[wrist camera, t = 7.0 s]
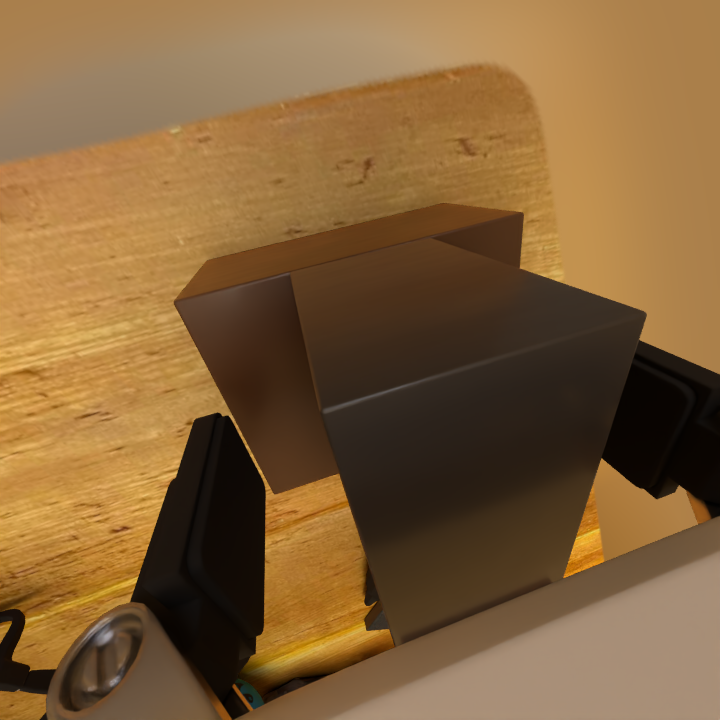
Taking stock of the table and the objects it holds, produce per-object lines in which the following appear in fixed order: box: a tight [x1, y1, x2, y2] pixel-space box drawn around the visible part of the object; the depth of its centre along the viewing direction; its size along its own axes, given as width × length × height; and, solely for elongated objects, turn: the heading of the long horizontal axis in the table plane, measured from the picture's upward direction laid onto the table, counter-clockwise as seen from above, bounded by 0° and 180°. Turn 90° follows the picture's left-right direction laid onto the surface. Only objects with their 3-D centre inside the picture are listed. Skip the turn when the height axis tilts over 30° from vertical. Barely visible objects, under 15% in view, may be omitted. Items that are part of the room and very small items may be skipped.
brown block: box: [174, 203, 524, 494], centre depth 13 cm, size 10×8×5 cm
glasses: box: [0, 609, 250, 694], centre depth 21 cm, size 17×18×5 cm
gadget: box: [290, 238, 647, 647], centre depth 8 cm, size 8×4×6 cm, turn 11°
